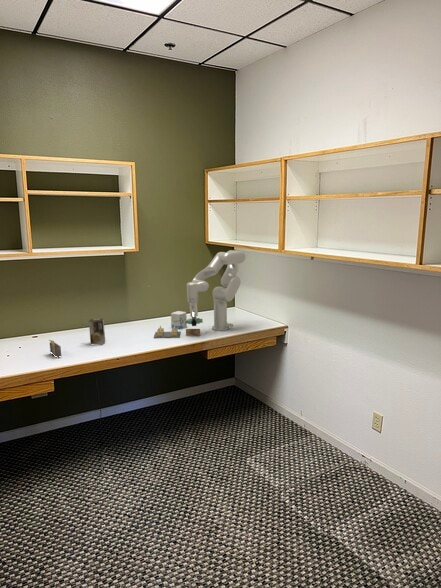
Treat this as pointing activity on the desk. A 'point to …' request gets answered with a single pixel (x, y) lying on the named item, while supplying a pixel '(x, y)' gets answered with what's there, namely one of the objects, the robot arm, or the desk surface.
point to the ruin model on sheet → (55, 348)
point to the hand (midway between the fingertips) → (194, 324)
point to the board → (196, 321)
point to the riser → (192, 332)
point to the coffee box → (97, 331)
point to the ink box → (178, 319)
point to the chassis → (167, 333)
